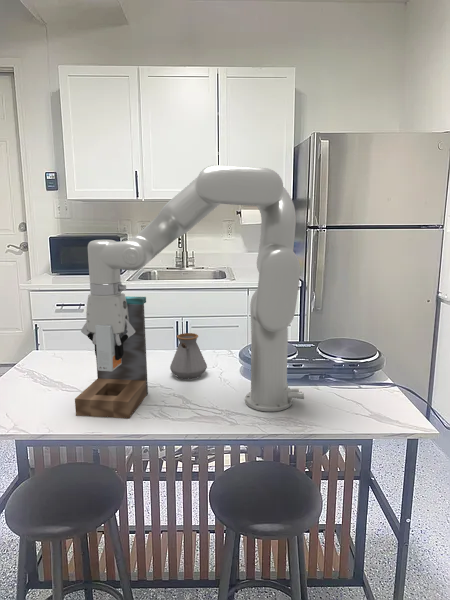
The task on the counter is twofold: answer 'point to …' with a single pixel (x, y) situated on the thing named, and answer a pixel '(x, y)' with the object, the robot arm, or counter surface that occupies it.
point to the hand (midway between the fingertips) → (109, 357)
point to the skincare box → (106, 348)
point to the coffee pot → (188, 358)
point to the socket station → (120, 375)
